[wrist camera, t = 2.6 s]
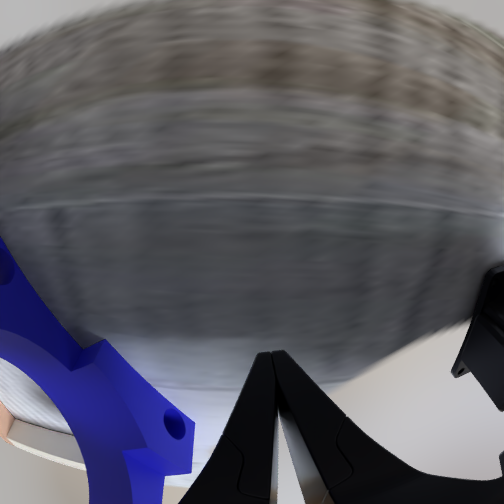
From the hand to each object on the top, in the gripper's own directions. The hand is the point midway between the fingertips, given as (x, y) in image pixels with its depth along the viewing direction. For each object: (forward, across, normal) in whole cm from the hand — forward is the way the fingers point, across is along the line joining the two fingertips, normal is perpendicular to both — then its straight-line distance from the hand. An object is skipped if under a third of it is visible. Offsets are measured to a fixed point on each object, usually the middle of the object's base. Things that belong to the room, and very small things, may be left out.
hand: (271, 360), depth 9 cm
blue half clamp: (+2, +8, 0) cm, 8 cm away
